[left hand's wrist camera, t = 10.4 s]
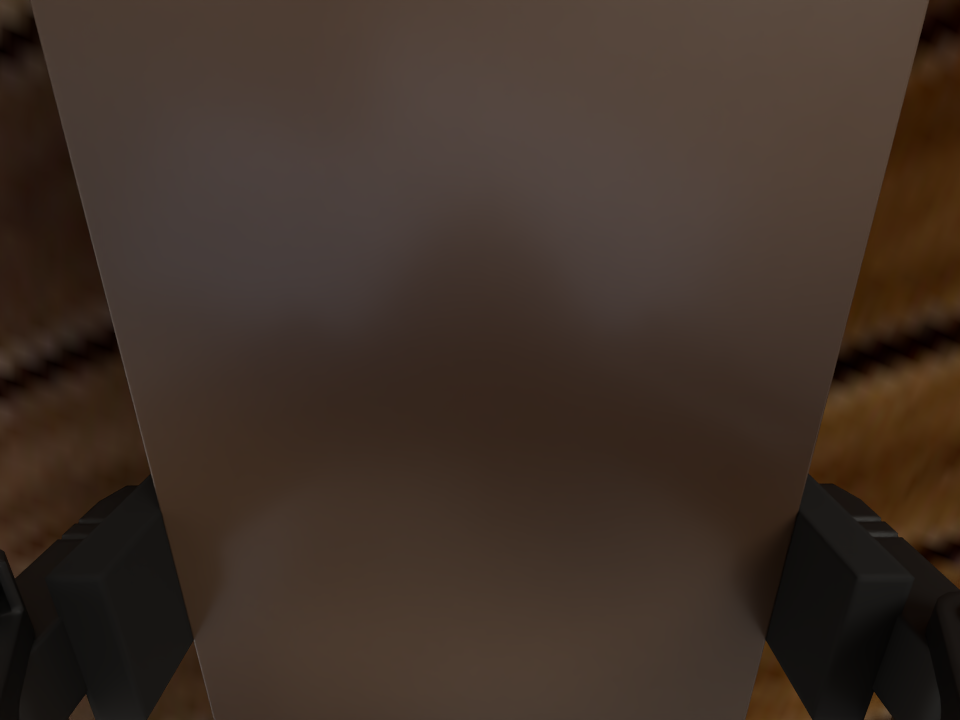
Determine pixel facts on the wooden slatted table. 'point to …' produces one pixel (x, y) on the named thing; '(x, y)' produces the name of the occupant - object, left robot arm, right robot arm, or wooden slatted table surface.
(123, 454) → the wooden slatted table surface
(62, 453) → the wooden slatted table surface
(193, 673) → the wooden slatted table surface
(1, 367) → the wooden slatted table surface
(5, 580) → the left robot arm
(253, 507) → the cabinet
